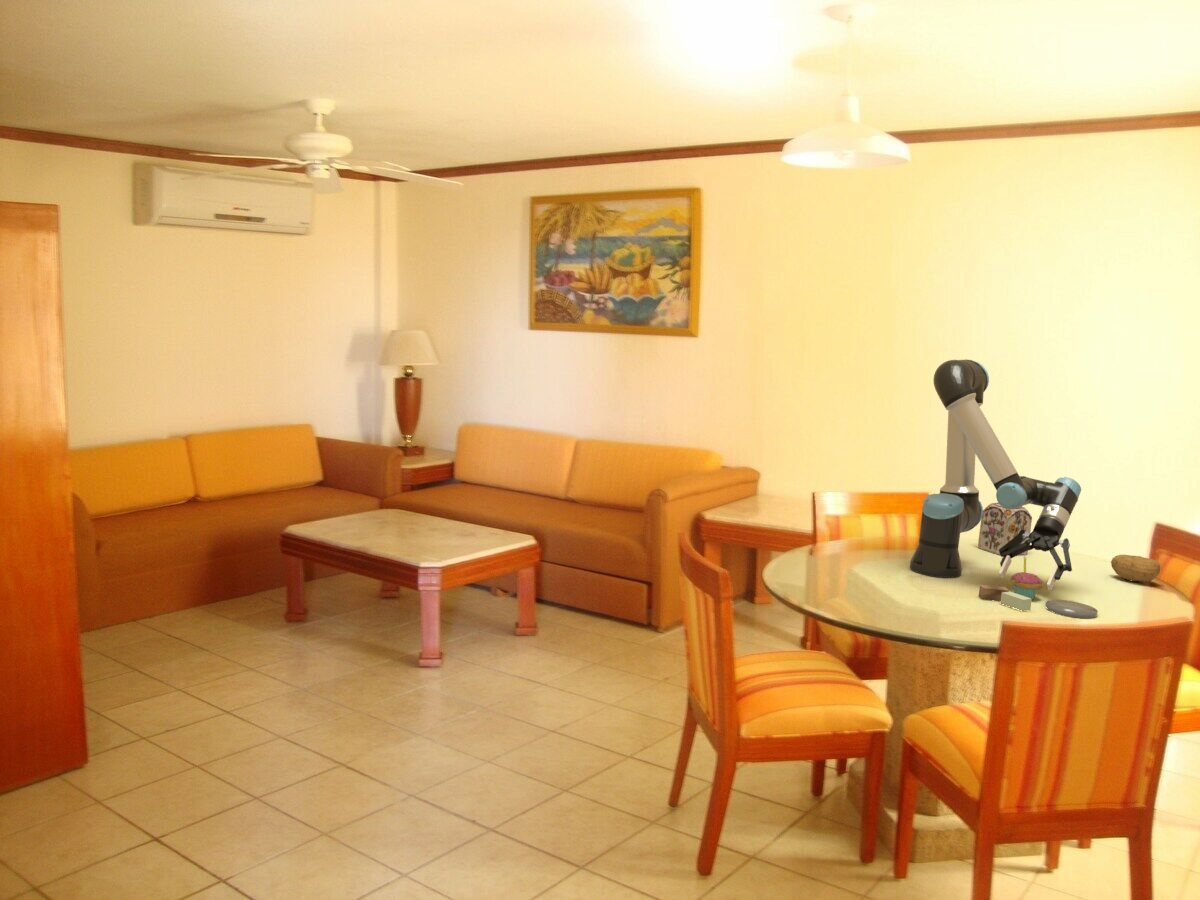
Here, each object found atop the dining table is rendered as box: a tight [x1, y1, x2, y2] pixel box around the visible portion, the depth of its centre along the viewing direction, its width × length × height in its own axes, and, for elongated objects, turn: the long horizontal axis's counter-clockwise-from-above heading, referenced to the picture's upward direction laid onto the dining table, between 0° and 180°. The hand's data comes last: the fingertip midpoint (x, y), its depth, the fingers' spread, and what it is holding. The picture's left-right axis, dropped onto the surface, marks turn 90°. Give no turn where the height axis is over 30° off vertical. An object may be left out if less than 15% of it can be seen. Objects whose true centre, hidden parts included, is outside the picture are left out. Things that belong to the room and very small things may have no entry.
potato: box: [1110, 554, 1162, 583], centre depth 318 cm, size 10×14×8 cm
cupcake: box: [1010, 556, 1044, 600], centre depth 290 cm, size 9×8×12 cm
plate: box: [1044, 599, 1099, 620], centre depth 280 cm, size 13×13×1 cm
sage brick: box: [999, 591, 1033, 612], centre depth 280 cm, size 7×4×4 cm, turn 30°
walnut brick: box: [978, 584, 1010, 602], centre depth 287 cm, size 7×4×4 cm, turn 84°
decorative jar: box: [977, 502, 1033, 556], centre depth 347 cm, size 12×12×18 cm
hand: (1024, 581), depth 289 cm, fingers open, 13 cm apart
